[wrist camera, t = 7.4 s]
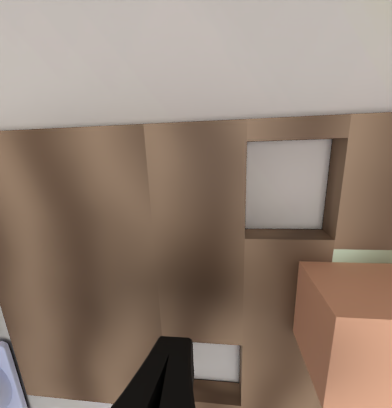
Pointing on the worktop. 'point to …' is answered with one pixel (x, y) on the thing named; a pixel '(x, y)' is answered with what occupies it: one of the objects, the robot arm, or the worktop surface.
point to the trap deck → (173, 250)
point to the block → (346, 331)
